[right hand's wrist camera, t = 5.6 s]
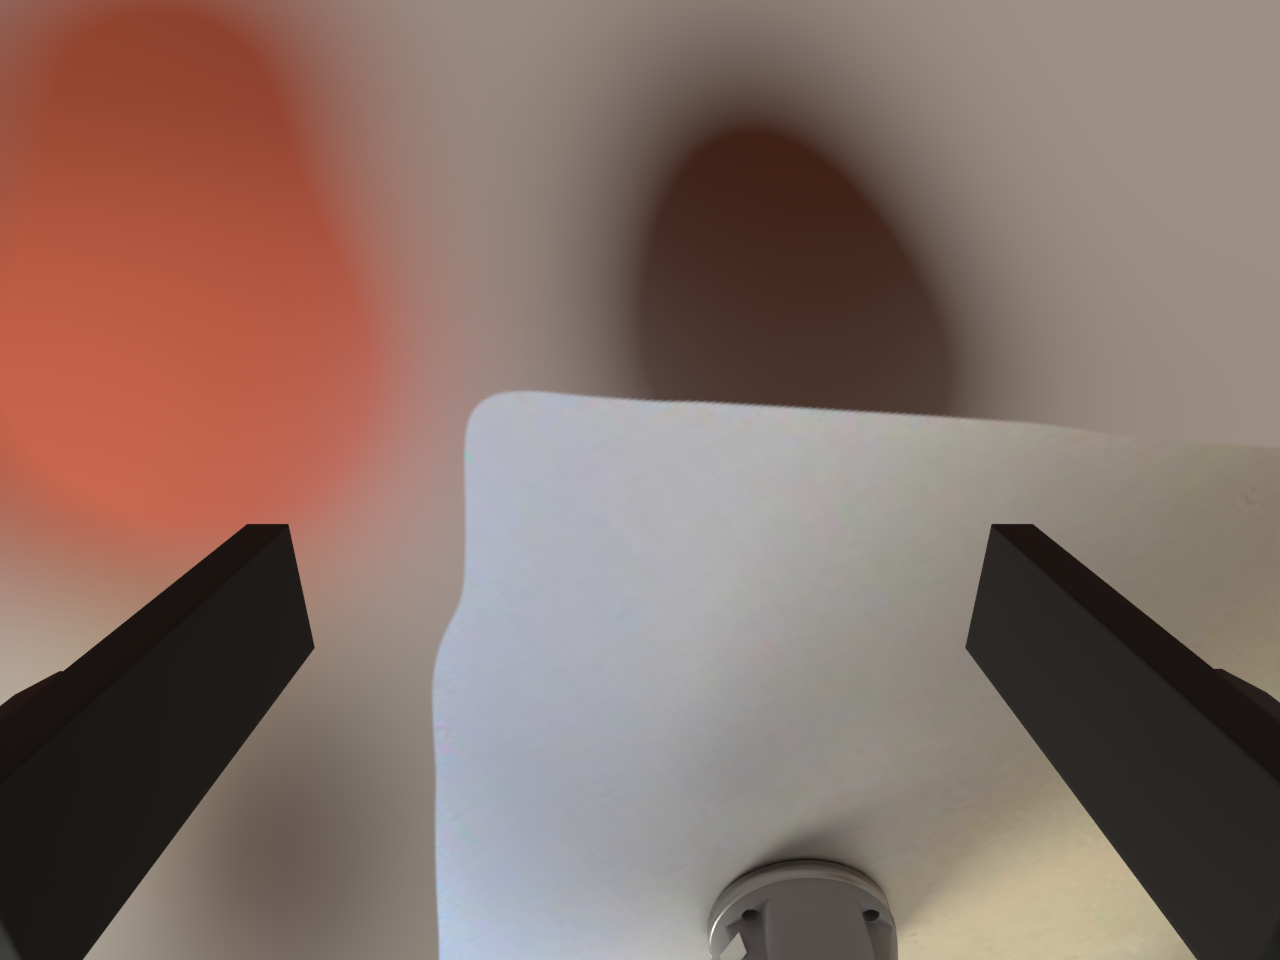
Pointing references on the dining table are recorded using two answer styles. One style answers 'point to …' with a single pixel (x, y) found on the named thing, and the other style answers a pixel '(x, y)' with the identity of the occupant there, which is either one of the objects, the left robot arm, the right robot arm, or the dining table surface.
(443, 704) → the dining table surface
